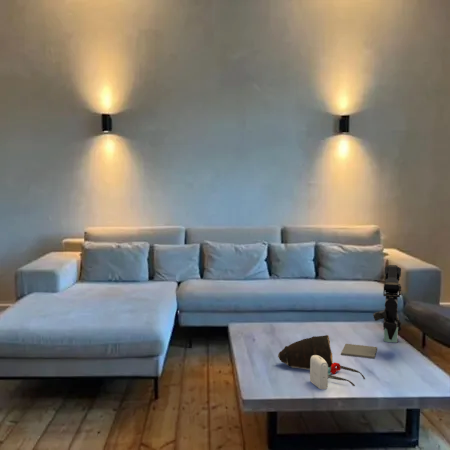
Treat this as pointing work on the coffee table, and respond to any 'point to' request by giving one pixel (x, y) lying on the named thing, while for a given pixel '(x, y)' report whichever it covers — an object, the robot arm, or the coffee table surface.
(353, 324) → the coffee table surface
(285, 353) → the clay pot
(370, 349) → the mat
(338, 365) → the novelty glasses
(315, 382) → the photo printer
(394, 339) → the cube
